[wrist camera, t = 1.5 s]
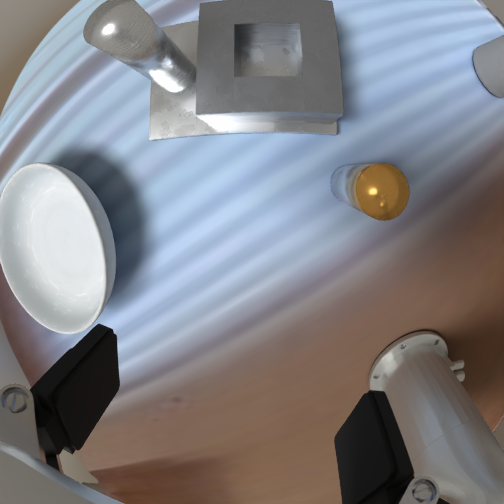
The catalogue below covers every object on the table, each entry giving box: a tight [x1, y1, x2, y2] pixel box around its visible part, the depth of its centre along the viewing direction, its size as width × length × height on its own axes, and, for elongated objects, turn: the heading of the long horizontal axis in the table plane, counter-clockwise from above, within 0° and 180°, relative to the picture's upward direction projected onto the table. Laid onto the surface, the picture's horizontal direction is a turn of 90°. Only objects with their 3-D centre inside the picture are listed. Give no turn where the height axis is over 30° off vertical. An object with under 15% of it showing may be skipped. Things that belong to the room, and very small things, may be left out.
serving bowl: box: [0, 163, 116, 334], centre depth 28 cm, size 21×21×7 cm
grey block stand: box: [83, 0, 344, 141], centre depth 17 cm, size 19×14×15 cm
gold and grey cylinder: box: [330, 163, 409, 221], centre depth 22 cm, size 4×4×10 cm
